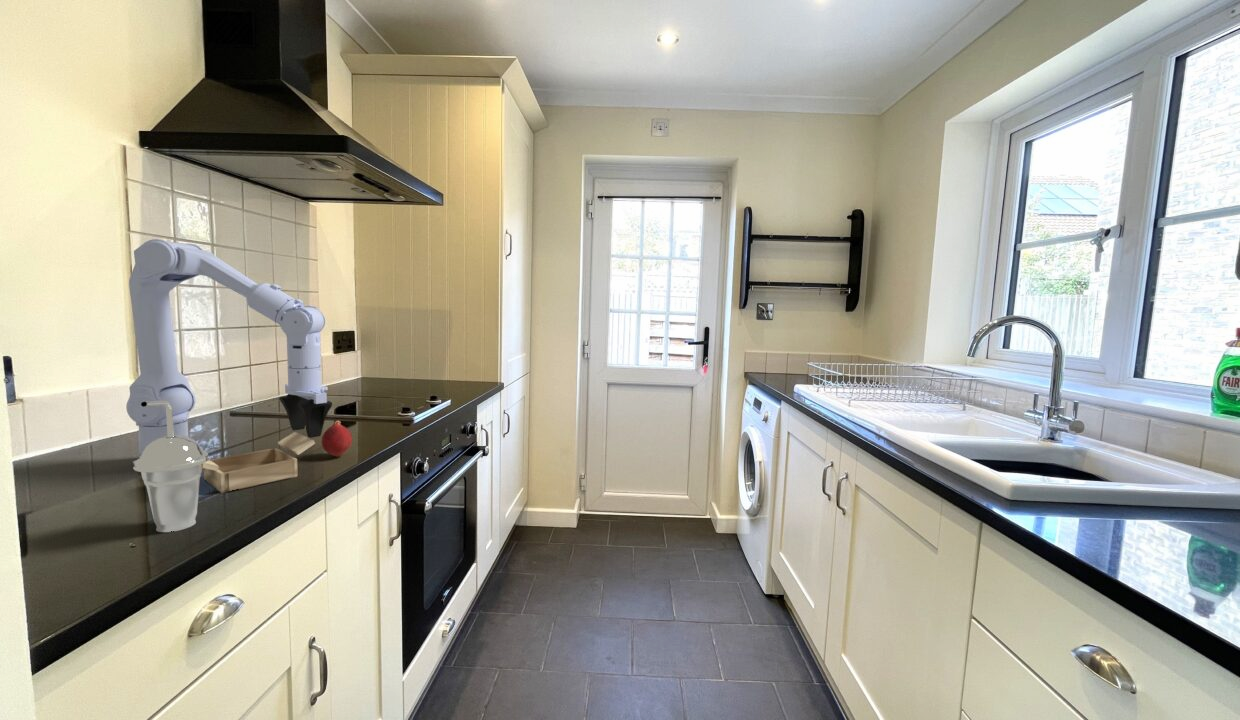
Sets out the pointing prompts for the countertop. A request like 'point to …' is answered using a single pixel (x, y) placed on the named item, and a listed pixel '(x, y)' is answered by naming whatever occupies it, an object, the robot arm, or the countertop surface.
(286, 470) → the carton
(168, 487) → the cup with straw
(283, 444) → the flap
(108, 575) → the countertop surface
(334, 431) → the red rounded oval piece
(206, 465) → the flap
